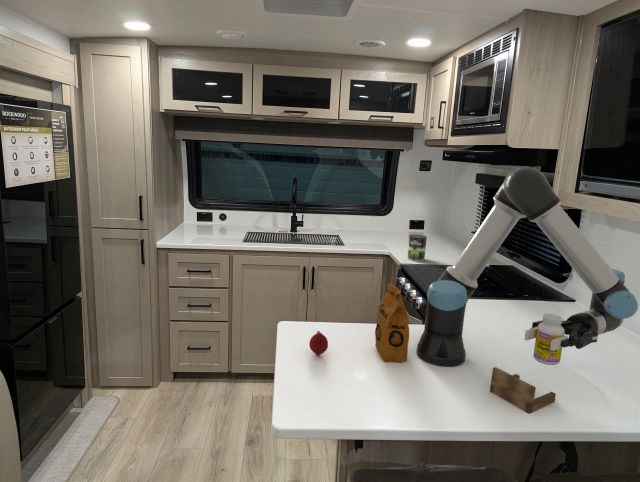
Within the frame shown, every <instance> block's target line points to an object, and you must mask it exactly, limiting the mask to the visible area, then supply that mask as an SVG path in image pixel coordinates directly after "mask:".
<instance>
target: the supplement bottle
mask: <svg viewBox="0 0 640 482" xmlns="http://www.w3.org/2000/svg"><path fill="white" fill-rule="evenodd" d="M542 320H543V322H542V323H540V324H539V325H538V327H537V334H536V338H535V342H534V350H533V356H532V357H533V359H534V360H535V361H536V362H538V363H540V364H544V365H546V366H547V365H548V366H557V365H558V364H560V361H561V356H562V351H563V347H562V348H560V349H557V350H554V351H551V350H550V345H551V340H554V339H557V338H560V337H563V336H565V334H564V333H565V331H564V328H563V327H562V326H561V323H562V321H563V317H562V316H560V315H558V314H553V313H545V314H543V315H542Z"/></svg>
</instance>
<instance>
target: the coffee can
mask: <svg viewBox="0 0 640 482" xmlns="http://www.w3.org/2000/svg"><path fill="white" fill-rule="evenodd" d="M408 237H409V239H408V249H407V250H408V251H407V259H408V260H410V261H414V262H423V261H425V256H426V249H427V238H428V236H426V235H422V234H410V235H409V236H408Z"/></svg>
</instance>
